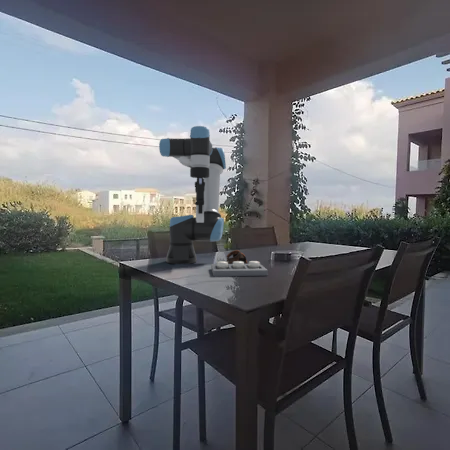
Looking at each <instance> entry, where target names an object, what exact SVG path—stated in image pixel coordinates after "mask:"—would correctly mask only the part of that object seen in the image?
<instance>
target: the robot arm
mask: <svg viewBox="0 0 450 450" xmlns="http://www.w3.org/2000/svg"><path fill="white" fill-rule="evenodd" d="M189 133H190V135H189V137H190V138H169V137H167V138H161V139H160V141H159V145H158V149H159V154H160V156H161V157H167V158H168V157H169V158H171V157H172V158H174V159H176V160H177V161H178V162H179V163H180V164H181V165H182V166H185V167H187V168H190V169H189V171H190V173H189V175H190V176H189V177H190V178H193V179H196V181H194V192H195V193H196V194H195V195H196V196H195V198H196V199H195V202H194V204H195V205H194V206H195V217H194V215H193V214H188V215H181V216H172V217H170V219H169V226H168V227H169V248H168V251H167V254H166V258H165V262H166V263H167V264H173V265H177V264H178V265H181V264H182V265H183V264H184V265H189V264H195V263H197V261H198V259H197V255H196V252H195V247H194V242H219V241H220V240H222V237H223V232H224V224H225V220H224V217H222V215H221V213H220V212H219V208H220V205H219V204H220V203H219V202H220V187H221V186H220V184H221V183H220V181H221V175H222V174H223V172H224V170H226V169H227V166H226V165H227V164H226V155H225V149H224V148H223V147H213V145H212V142H211V140H210V136H211V134H210V127H207V126H204V125H195V126H192V127H191V128H190V132H189Z"/></svg>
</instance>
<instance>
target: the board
mask: <svg viewBox="0 0 450 450" xmlns="http://www.w3.org/2000/svg"><path fill="white" fill-rule="evenodd" d="M210 268H211V273H212V275H213V277H253V276H254V277H256V276H257V277H259V276H260V277H261V276H263V277H264V276H269V269H267V268H265V266H264V265H262V264H261V263H260V267H259V268H258V269H252V268H249V263H244V268H243V269H234V268H233V263H232V264H231V263H230V264H228V268H227V269H218V268H217V263H211V265H210Z"/></svg>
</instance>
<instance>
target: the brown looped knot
mask: <svg viewBox="0 0 450 450" xmlns="http://www.w3.org/2000/svg"><path fill="white" fill-rule="evenodd" d="M231 256H232V257H231ZM234 261H242V262H244V264H248V260H247V256H246V255H245V253H243V252H241V250H239V249H235V250H232V251H230V252H229V253H228V254H227V255H226V262H228V264H233V262H234Z"/></svg>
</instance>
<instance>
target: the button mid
mask: <svg viewBox="0 0 450 450" xmlns="http://www.w3.org/2000/svg"><path fill="white" fill-rule="evenodd" d="M232 264H233V268H234V269H243V268H244V264H245V263H244V262H242V261H234V262H233V263H232Z"/></svg>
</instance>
